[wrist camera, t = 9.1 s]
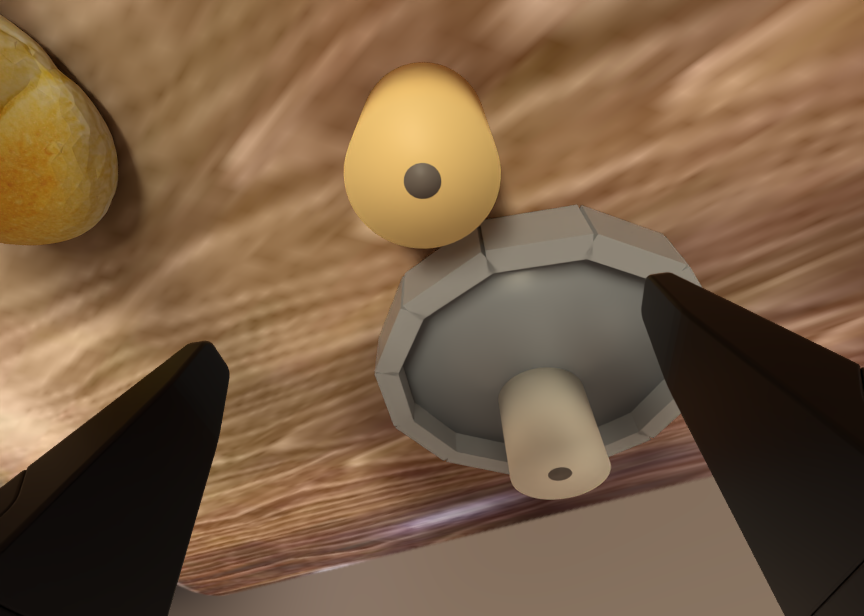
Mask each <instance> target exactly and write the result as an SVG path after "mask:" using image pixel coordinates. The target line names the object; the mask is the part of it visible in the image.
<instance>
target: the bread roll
mask: <svg viewBox="0 0 864 616" xmlns="http://www.w3.org/2000/svg"><path fill="white" fill-rule="evenodd" d="M117 182H118V160H117V153H116V149H115V145H114V142H113V138H112V135H111V133H110V131H109V129H108V127H107V125H106V123H105V121H104V119H103V118H102V116H101V115H100V113H99V111H98V110H97V108H96V107H95V105H94V104H93V103H92V101H91V100H90V99H89V97H88V96H87V95H86V94H85V93H84V91H83V90H82V89H81V88H80V87H79V86H78V85H77V84H76V83H74V82H73V81H72V80H71V79H69V78H68V77H67V76H65V75H64V74H63V73H62V72H61V71H60V70H58V69H57V67H56V66H55V64H54V63H53V62H52V60H51V59H50V57H49V56H48V55H47V53H46V52H45V51H44V50H43V49H42V47H41V46H40V45H39V44H38V43H37V42H35V41H34V40H33V39H32V38H31V37H30V36H28V35H27V34H26V33H24V32H23V31H22V30H20V29H19V28H18V27H17V26H15V25H14V24H13V23H11V22H10V21H9V20H7V19H6V18H4V17H3V16H2V15H0V243H4V244H15V245H44V244H51V243H58V242H62V241H66V240H70V239H72V238H75V237H77V236H80V235H82V234H83V233H85V232H87V231H88V230H90V229H91V228H92V227H94V226H95V225H96V224H97V223H98V221H100V220H101V219H102V217H103V216H104V215H105V214H106V213H107V211H108V208H109V206H110V204H111V201H112V198H113V196H114V194H115V191H116V187H117Z"/></svg>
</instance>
